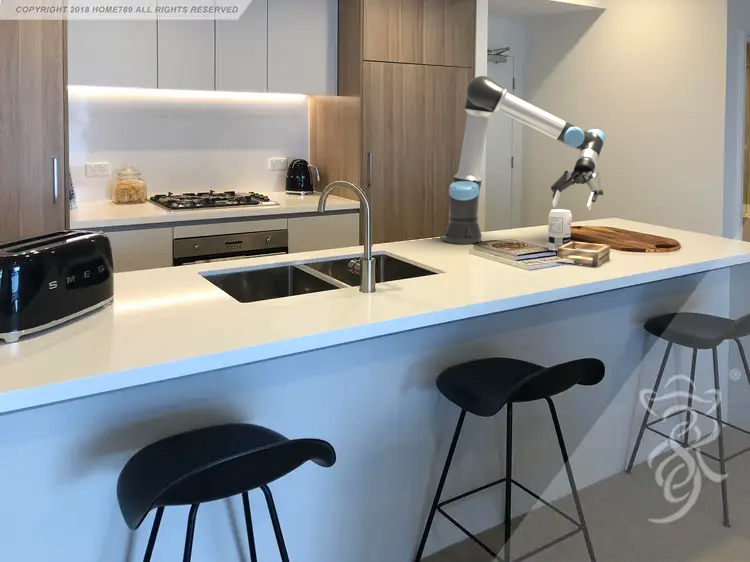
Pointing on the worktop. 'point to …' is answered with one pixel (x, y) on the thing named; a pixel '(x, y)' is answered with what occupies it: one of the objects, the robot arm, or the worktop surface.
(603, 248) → the crate
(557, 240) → the supplement can
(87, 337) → the worktop surface
